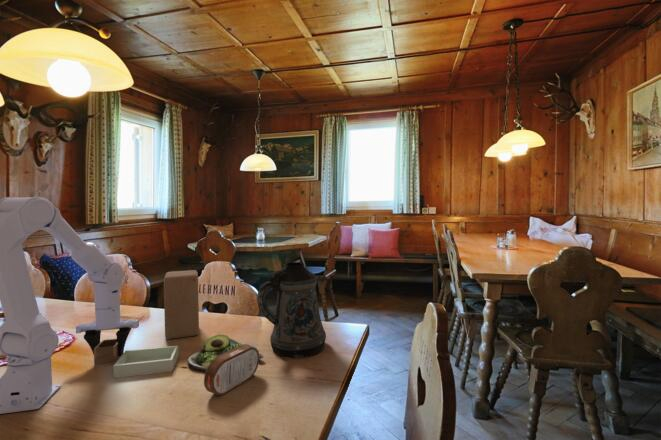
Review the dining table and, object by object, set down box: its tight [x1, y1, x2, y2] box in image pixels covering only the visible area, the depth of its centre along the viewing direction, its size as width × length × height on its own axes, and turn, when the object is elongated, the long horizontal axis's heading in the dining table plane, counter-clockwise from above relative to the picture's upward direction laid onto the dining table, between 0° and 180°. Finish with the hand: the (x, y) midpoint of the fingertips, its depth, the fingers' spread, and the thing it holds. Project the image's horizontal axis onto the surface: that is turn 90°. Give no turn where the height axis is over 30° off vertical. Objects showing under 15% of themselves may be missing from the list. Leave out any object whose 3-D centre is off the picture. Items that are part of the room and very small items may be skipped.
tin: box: [203, 343, 260, 396], centre depth 81 cm, size 15×3×8 cm, turn 149°
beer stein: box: [256, 262, 327, 360], centre depth 101 cm, size 16×19×25 cm
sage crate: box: [113, 345, 179, 379], centre depth 91 cm, size 9×13×3 cm
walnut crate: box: [93, 338, 123, 368], centre depth 94 cm, size 6×5×5 cm
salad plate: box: [187, 334, 264, 372], centre depth 95 cm, size 19×18×5 cm
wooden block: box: [163, 269, 200, 340], centre depth 114 cm, size 10×10×20 cm
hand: (109, 356), depth 94 cm, fingers closed on walnut crate, 5 cm apart
